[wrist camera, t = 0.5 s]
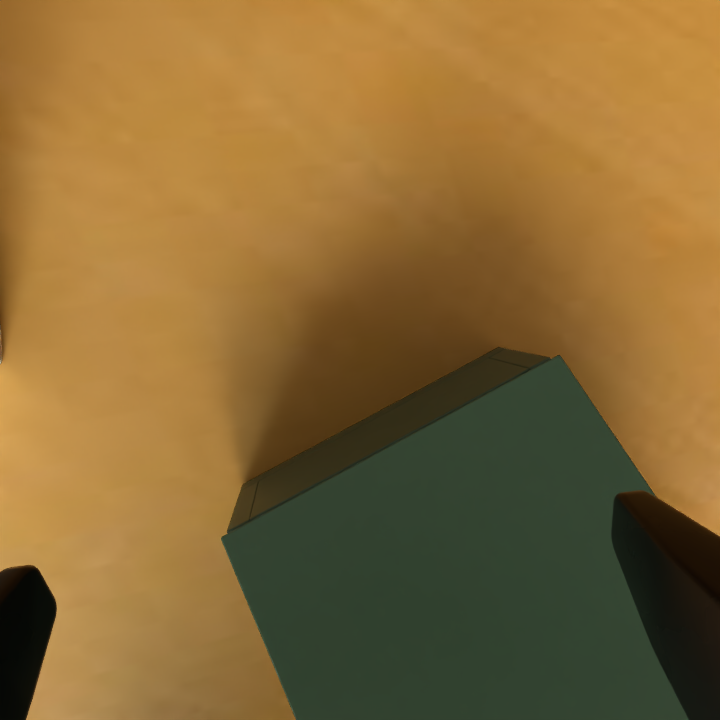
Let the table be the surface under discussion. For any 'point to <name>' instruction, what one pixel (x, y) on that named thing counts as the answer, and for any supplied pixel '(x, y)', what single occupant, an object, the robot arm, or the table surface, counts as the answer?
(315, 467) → the toy chest
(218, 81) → the table surface
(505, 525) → the lid
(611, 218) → the table surface
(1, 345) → the box
